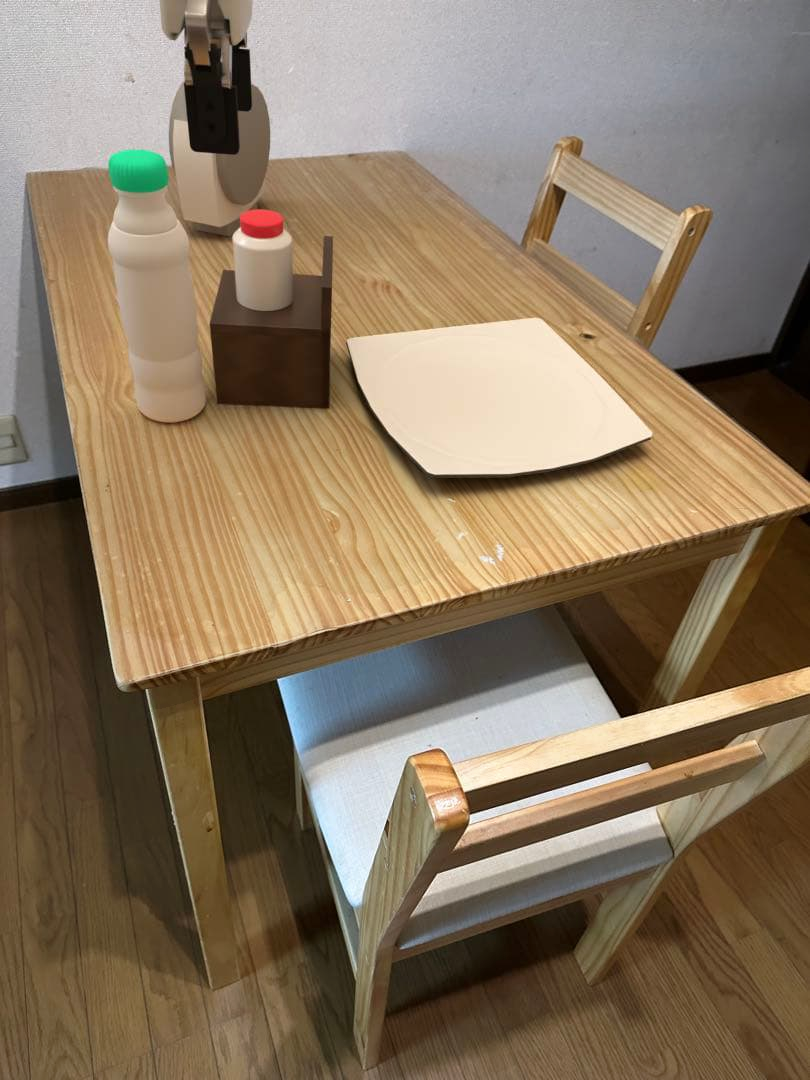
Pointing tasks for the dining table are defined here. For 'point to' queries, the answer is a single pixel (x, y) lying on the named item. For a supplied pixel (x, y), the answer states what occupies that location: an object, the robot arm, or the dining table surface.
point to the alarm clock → (220, 168)
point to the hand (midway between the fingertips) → (223, 129)
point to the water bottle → (155, 289)
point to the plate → (491, 399)
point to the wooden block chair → (275, 344)
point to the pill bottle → (263, 261)
